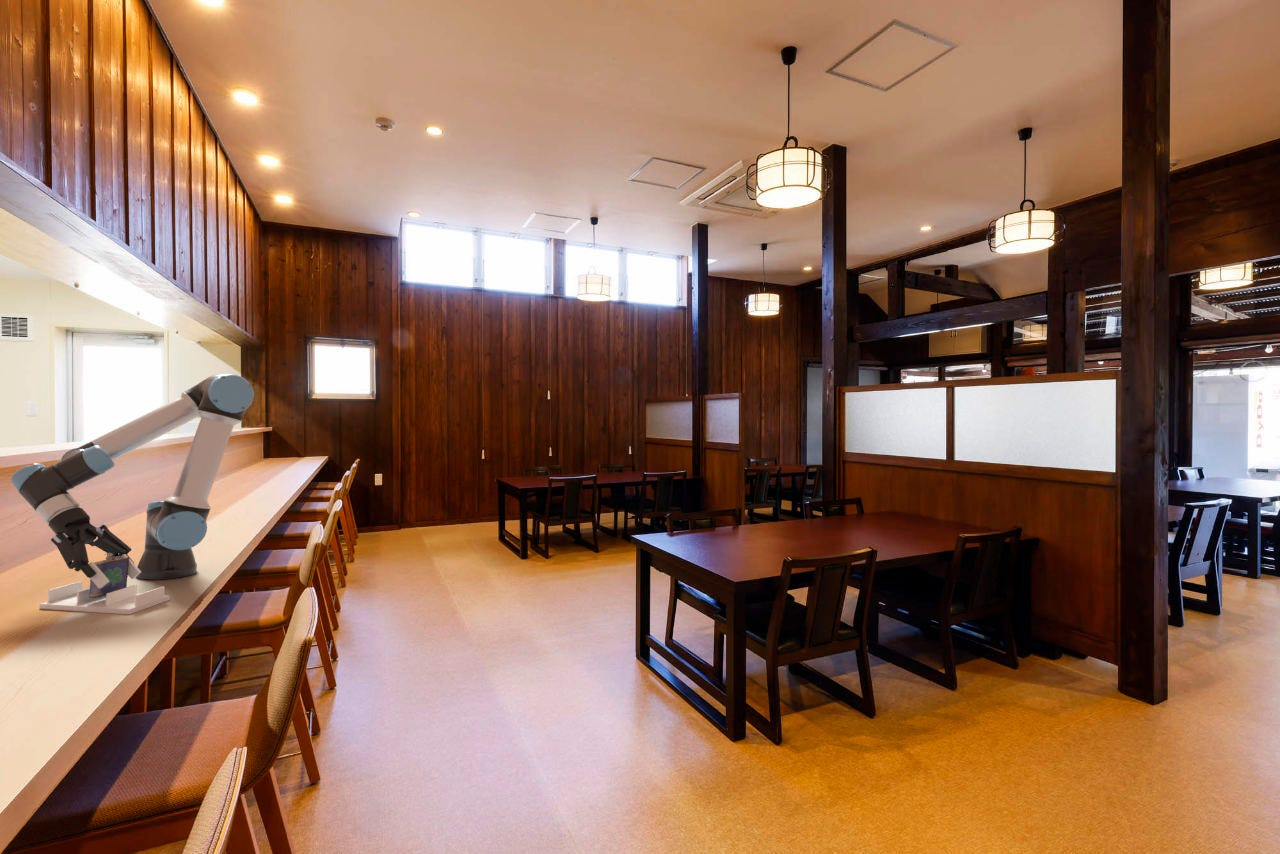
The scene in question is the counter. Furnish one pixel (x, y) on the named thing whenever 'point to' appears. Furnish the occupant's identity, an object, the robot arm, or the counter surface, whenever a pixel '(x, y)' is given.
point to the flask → (111, 575)
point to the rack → (102, 599)
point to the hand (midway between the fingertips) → (121, 580)
